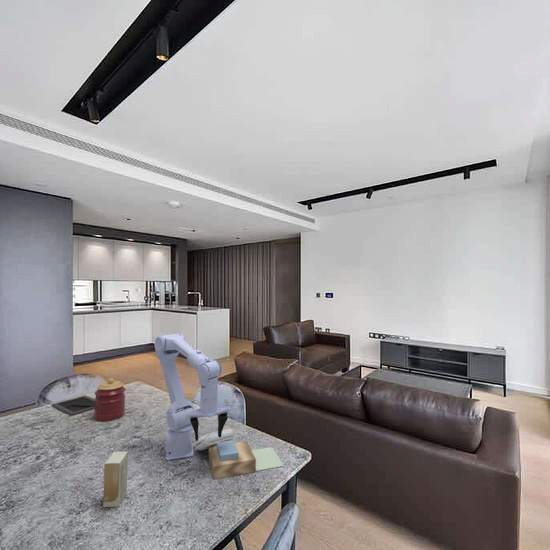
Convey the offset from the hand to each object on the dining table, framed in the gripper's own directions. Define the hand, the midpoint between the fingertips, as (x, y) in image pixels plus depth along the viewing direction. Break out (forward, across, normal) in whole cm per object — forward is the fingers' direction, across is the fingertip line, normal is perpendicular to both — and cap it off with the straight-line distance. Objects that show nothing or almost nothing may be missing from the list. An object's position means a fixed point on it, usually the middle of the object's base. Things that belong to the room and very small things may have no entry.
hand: (208, 437), depth 107 cm
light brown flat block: (+10, +8, -1) cm, 13 cm away
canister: (+10, -36, +58) cm, 69 cm away
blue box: (+6, +6, -1) cm, 9 cm away
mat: (+10, +20, -2) cm, 22 cm away
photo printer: (+6, +10, +12) cm, 17 cm away
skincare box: (+10, -27, -7) cm, 30 cm away
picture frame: (+11, -52, +77) cm, 94 cm away
